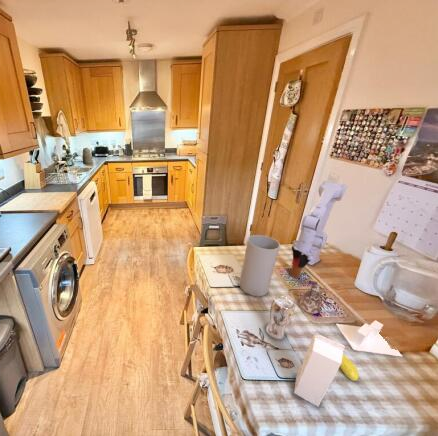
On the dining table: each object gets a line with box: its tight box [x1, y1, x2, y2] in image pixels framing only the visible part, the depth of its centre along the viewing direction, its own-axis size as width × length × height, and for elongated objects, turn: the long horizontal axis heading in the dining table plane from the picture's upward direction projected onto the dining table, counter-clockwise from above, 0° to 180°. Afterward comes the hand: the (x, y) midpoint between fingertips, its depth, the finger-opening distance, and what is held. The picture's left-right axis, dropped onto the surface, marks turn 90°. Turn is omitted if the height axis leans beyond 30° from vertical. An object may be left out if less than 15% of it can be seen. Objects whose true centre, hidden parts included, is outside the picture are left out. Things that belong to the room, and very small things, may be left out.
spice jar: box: [289, 264, 303, 279], centre depth 115 cm, size 4×4×8 cm
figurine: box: [299, 281, 324, 315], centre depth 95 cm, size 7×7×12 cm
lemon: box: [339, 354, 359, 382], centre depth 73 cm, size 4×8×4 cm, turn 169°
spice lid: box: [291, 258, 300, 268], centre depth 114 cm, size 5×5×2 cm
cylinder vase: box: [238, 234, 281, 297], centre depth 103 cm, size 12×12×25 cm
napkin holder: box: [335, 319, 404, 358], centre depth 82 cm, size 15×11×6 cm
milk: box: [293, 333, 346, 408], centre depth 64 cm, size 6×6×22 cm
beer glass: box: [265, 295, 296, 340], centre depth 83 cm, size 7×7×15 cm
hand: (298, 263), depth 114 cm, fingers closed on spice lid, 5 cm apart
